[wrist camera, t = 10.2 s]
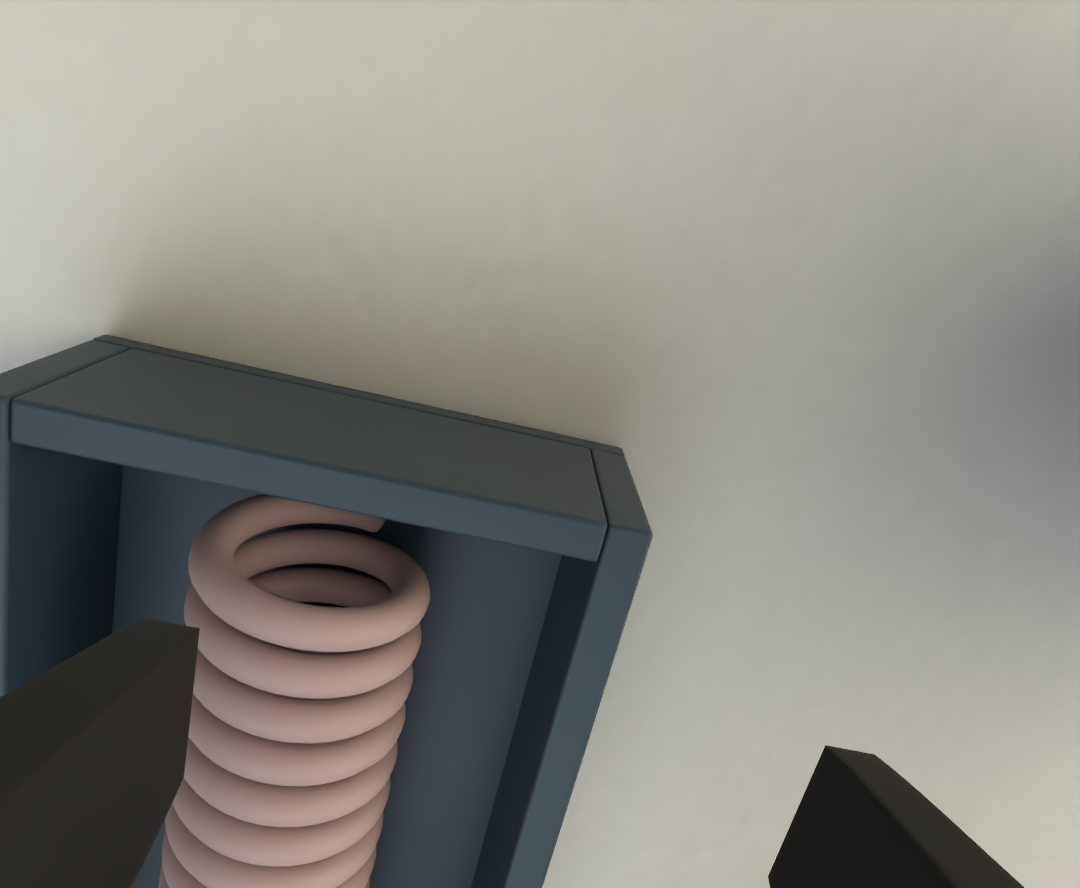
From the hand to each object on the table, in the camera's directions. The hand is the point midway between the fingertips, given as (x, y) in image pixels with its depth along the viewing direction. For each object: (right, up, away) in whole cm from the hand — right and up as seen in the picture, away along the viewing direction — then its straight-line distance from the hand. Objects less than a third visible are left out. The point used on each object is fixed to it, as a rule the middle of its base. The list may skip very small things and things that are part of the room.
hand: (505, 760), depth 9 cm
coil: (-6, -6, +11) cm, 14 cm away
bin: (-6, -5, +12) cm, 14 cm away
